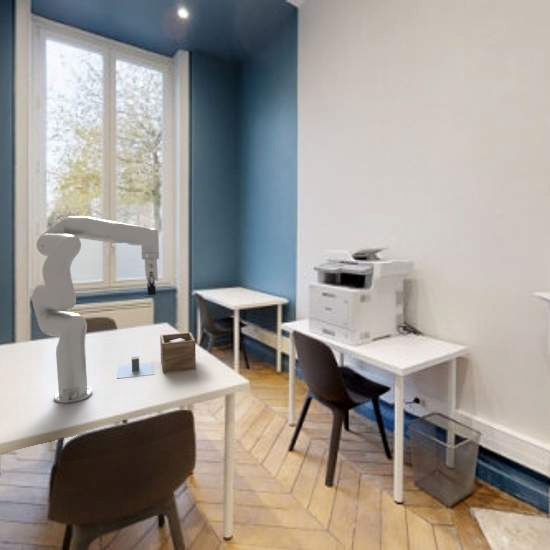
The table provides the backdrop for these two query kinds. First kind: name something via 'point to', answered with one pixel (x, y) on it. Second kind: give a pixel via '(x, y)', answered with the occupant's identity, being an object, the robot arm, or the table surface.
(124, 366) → the lid
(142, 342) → the table surface
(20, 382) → the table surface
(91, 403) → the table surface
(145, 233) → the robot arm
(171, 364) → the walnut box
